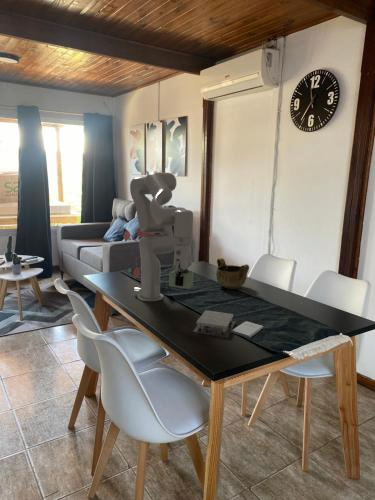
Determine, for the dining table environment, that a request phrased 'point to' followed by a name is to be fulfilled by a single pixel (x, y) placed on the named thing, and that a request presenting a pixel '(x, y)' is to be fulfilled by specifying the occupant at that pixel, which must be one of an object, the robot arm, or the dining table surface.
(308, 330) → the dining table surface
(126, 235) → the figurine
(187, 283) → the pale green block
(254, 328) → the external hard drive
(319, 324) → the dining table surface
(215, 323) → the chassis
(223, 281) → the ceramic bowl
